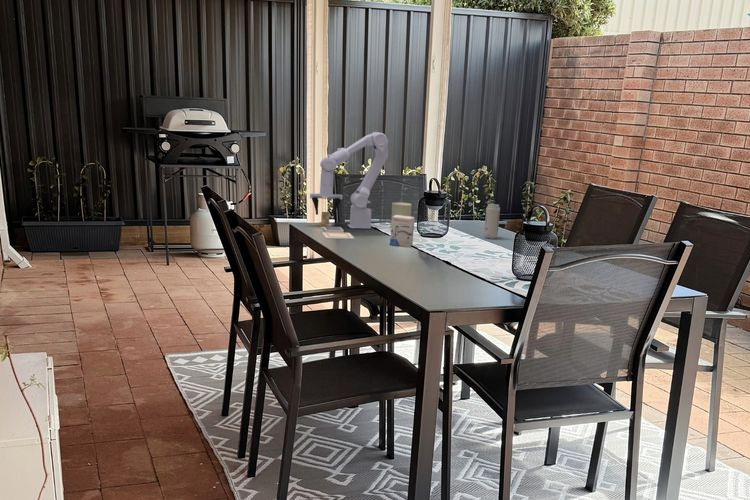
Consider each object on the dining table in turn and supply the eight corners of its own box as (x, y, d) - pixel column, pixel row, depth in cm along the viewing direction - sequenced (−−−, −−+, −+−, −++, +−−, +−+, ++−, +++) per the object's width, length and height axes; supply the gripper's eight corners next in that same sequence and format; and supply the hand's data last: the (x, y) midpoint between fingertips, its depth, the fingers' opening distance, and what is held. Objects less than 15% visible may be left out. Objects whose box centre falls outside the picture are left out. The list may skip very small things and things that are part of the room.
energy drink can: (483, 236, 303) (486, 203, 300) (496, 237, 303) (499, 204, 300) (484, 238, 298) (487, 205, 295) (497, 239, 297) (501, 206, 294)
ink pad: (340, 229, 301) (340, 226, 300) (343, 232, 293) (343, 229, 293) (322, 228, 299) (322, 226, 299) (325, 232, 291) (325, 229, 291)
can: (390, 226, 317) (391, 200, 314) (409, 227, 317) (411, 201, 314) (390, 229, 307) (392, 203, 305) (410, 230, 308) (412, 204, 305)
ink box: (389, 245, 271) (391, 216, 269) (392, 243, 276) (394, 214, 274) (410, 247, 269) (412, 218, 267) (413, 245, 274) (415, 216, 271)
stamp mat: (349, 233, 291) (349, 232, 291) (354, 239, 280) (354, 237, 280) (321, 233, 288) (321, 232, 288) (325, 238, 277) (325, 237, 277)
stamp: (329, 226, 308) (330, 211, 307) (331, 227, 303) (331, 213, 302) (318, 225, 307) (319, 211, 305) (320, 227, 302) (320, 213, 301)
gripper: (341, 184, 307) (339, 213, 309) (309, 182, 303) (308, 212, 306) (343, 185, 300) (342, 216, 303) (311, 184, 297) (310, 215, 299)
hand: (325, 214), depth 304 cm, fingers open, 7 cm apart
